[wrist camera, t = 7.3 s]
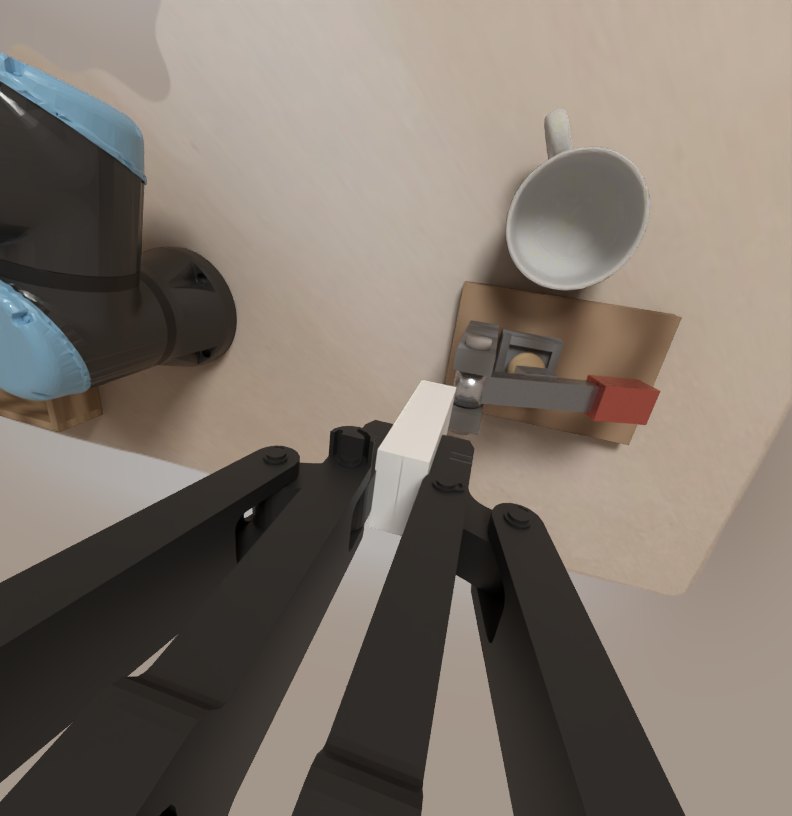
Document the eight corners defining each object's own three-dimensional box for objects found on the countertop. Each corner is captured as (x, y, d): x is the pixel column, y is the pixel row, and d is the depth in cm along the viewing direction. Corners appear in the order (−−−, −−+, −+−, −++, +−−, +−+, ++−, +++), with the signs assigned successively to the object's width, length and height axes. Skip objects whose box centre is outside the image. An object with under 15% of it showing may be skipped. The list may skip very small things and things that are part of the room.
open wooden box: (-14, 383, 69) (-66, 397, 63) (-51, 259, 61) (-115, 260, 55) (102, 414, 65) (59, 432, 59) (79, 285, 57) (25, 289, 51)
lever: (443, 389, 37) (455, 410, 32) (449, 355, 35) (462, 372, 31) (614, 403, 39) (645, 424, 35) (626, 372, 38) (660, 391, 34)
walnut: (503, 378, 43) (503, 389, 39) (511, 345, 41) (512, 354, 38) (538, 385, 42) (540, 397, 39) (547, 352, 40) (551, 361, 37)
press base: (443, 398, 49) (416, 460, 35) (465, 281, 44) (445, 297, 29) (623, 437, 46) (677, 524, 31) (673, 314, 40) (767, 351, 26)
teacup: (618, 278, 40) (643, 284, 33) (506, 288, 43) (506, 296, 36) (631, 113, 35) (663, 79, 28) (504, 137, 38) (503, 112, 31)
